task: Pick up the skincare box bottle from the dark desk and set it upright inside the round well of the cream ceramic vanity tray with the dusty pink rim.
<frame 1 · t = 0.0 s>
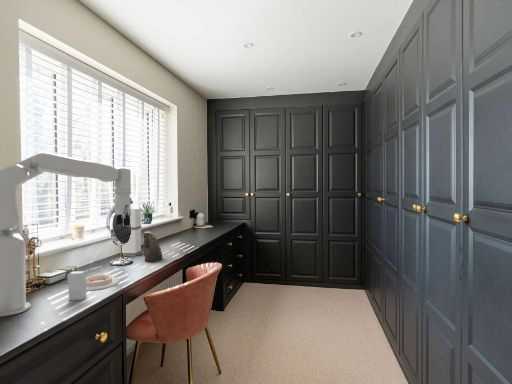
hand: (123, 225, 154), 31 cm above the table, tool pointing down, fingers open, 9 cm apart
display case: (131, 254, 227), on the table
rock: (153, 260, 209), on the table
vanity tray: (97, 284, 157), on the table
skincare box: (77, 299, 136), on the table
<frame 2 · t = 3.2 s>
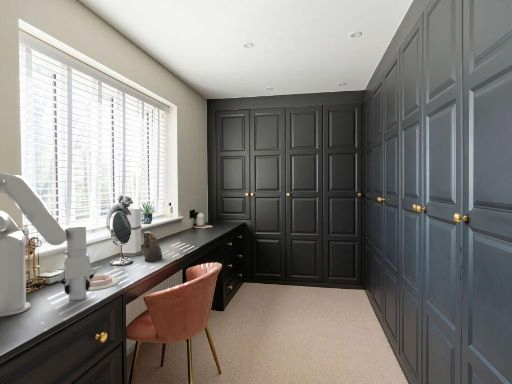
hand: (77, 291, 136), 3 cm above the table, tool pointing down, fingers closed on skincare box, 7 cm apart
skincare box: (77, 299, 136), on the table, touching gripper
everything else where it was.
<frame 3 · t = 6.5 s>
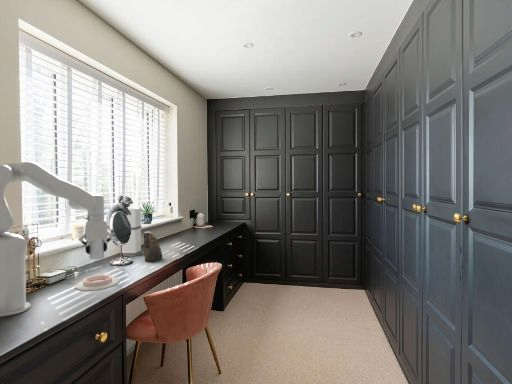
hand: (96, 252, 155), 17 cm above the table, tool pointing down, fingers closed on skincare box, 7 cm apart
skincare box: (96, 258, 155), point 13 cm above the table, touching gripper
everything else where it was.
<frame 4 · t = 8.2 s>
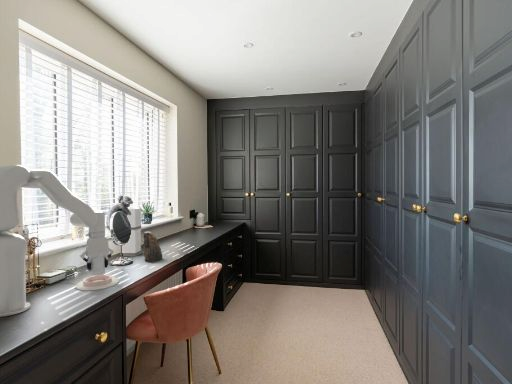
hand: (97, 268, 157), 8 cm above the table, tool pointing down, fingers closed on skincare box, 7 cm apart
skincare box: (97, 275, 157), point 5 cm above the table, touching gripper
everything else where it was.
when the fingers open (6 cm above the table, at t = 9.7 s): skincare box drops 1 cm, resting on vanity tray.
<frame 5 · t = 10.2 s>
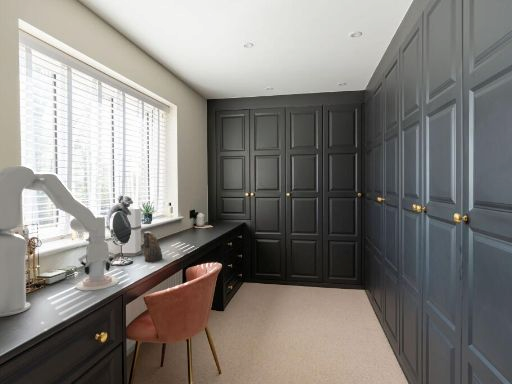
hand: (97, 272, 157), 6 cm above the table, tool pointing down, fingers open, 9 cm apart
skincare box: (96, 283, 156), point 1 cm above the table, touching vanity tray
everything else where it was.
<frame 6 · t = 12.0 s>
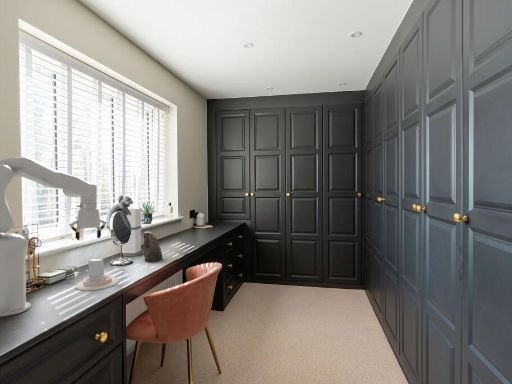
hand: (88, 238, 158), 23 cm above the table, tool pointing down, fingers open, 9 cm apart
nothing on the table moved.
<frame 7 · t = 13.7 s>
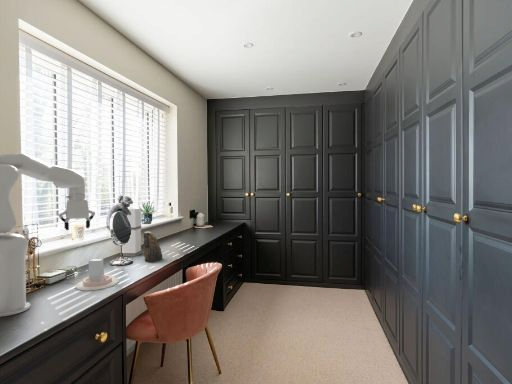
hand: (77, 228, 161), 28 cm above the table, tool pointing down, fingers open, 9 cm apart
nothing on the table moved.
at the end: skincare box 0.6 cm off-centre on the vanity tray, point 0.6 cm above the vanity tray's base; skincare box tilted 0°; the gripper is holding nothing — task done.
